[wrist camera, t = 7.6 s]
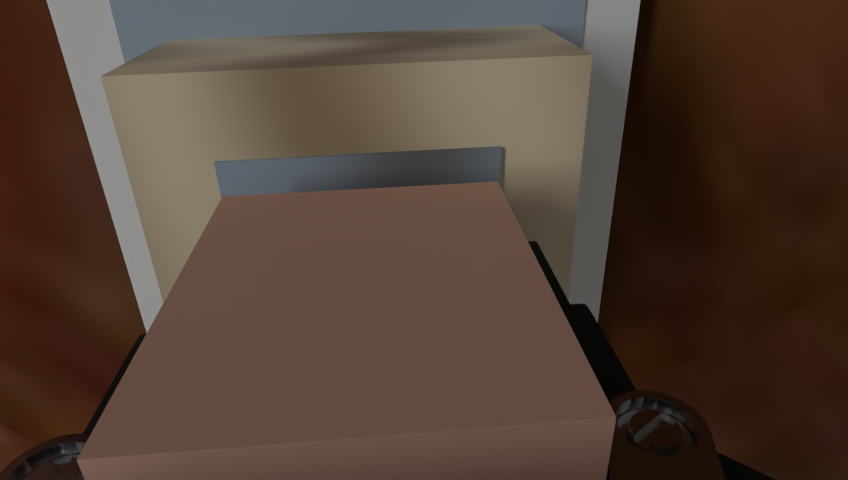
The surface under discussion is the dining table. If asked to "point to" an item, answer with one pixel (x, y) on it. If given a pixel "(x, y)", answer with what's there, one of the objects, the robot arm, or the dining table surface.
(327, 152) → the plinth
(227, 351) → the block
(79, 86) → the board
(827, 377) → the dining table surface
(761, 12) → the dining table surface
